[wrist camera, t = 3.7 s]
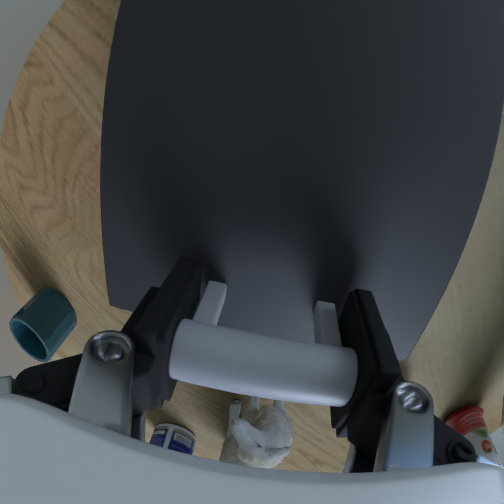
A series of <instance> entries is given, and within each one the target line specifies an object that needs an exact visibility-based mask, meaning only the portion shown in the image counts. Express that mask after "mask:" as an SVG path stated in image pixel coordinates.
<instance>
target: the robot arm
mask: <svg viewBox="0 0 504 504" xmlns="http://www.w3.org/2000/svg"><path fill="white" fill-rule="evenodd" d="M201 279H202V263H198V259H197V258H193V257H188V256H183V255H181V256H180V258H179V259H178V261H177V262H176V264H175V265H174V267H173V268H172V270H171V271H170V273H169V274H168V276H167V277H166V279H165V280H164V282H163V283H162V285H161V286H160V287H155V286H152V287H151V288H150V289H149V290H148V291H147V293H146V294H145V296H144V297H143V299H142V300H141V302H140V303H139V305H138V306H137V307H136V309H135V310H134V312H133V313H132V315H131V316H130V318H129V319H128V321H127V322H126V324H125V325H124V327H123V328H122V330H121V331H115V330H106V331H102V332H98V333H97V334H95V335H93V336H92V337H91V338H90V339H89V340H88V341H87V343H86V345H85V348H84V351H83V353H82V354H79V355H75V356H71V357H67V358H64V359H60V360H56V361H52V362H49V363H44V364H40V365H37V366H33V367H29V368H27V369H24V370H23V371H22V372H21V373H20V374H19V375H18V376H17V377H16V379H13V378H12V376H4V377H0V504H504V467H503V466H502V465H500V464H498V463H496V462H494V461H493V460H491V459H489V458H487V457H486V456H484V455H482V454H480V453H478V454H477V455H476V452H475V449H474V447H473V445H472V443H471V442H470V441H469V440H468V439H466V438H465V437H464V436H462V435H461V434H460V433H458V432H457V431H455V430H454V429H453V428H451V427H450V426H449V425H447V424H446V423H445V422H443V421H442V420H440V419H439V418H438V417H436V416H435V415H434V404H433V399H432V397H431V395H430V393H429V392H428V391H427V389H426V388H424V387H423V386H422V385H420V384H418V383H416V382H412V381H404V379H403V376H402V373H401V369H400V366H399V363H398V360H397V357H396V354H395V351H394V348H393V345H392V342H391V339H390V336H389V333H388V331H387V330H386V329H385V326H384V323H383V321H382V318H381V315H380V312H379V310H378V307H377V304H376V301H375V299H374V296H373V294H372V292H371V291H369V290H363V289H358V288H356V289H355V290H354V292H352V291H350V292H349V294H348V296H347V299H346V301H345V304H344V306H343V309H342V311H341V314H340V316H339V319H338V325H339V331H340V337H341V342H342V347H348V348H352V349H353V350H355V352H356V354H357V358H358V377H357V383H356V387H355V390H354V393H353V395H352V397H351V399H350V401H349V402H348V403H347V404H346V405H345V406H342V407H337V406H330V410H331V425H332V428H336V435H337V437H347V438H348V441H350V442H351V445H350V448H349V452H348V456H347V460H346V463H345V467H344V470H343V473H318V472H299V471H286V470H276V469H267V468H259V467H251V466H245V465H238V464H233V463H227V462H222V461H217V460H212V459H207V458H202V457H198V456H193V455H189V454H185V453H181V452H177V451H174V450H170V449H166V448H163V447H160V446H156V445H153V444H150V443H147V442H145V419H146V411H148V410H151V409H153V408H154V406H156V407H159V408H161V407H162V405H163V402H164V400H167V401H170V399H171V397H172V394H173V391H174V389H175V386H176V383H177V381H178V380H176V379H173V378H171V377H170V376H169V371H168V362H169V353H170V348H171V344H172V340H173V336H174V333H175V331H176V328H177V326H178V324H179V323H180V321H181V320H182V319H185V318H186V319H190V320H192V318H193V316H194V313H195V311H196V309H197V306H198V304H199V302H200V291H201Z"/></svg>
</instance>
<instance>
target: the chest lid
mask: <svg viewBox="0 0 504 504" xmlns="http://www.w3.org/2000/svg"><path fill="white" fill-rule="evenodd" d="M503 103H504V0H121V4H120V8H119V12H118V17H117V21H116V26H115V31H114V36H113V41H112V47H111V53H110V59H109V65H108V72H107V80H106V88H105V97H104V108H103V120H102V136H101V166H100V192H101V223H102V239H103V252H104V263H105V273H106V282H107V290H108V297H109V304H110V305H111V306H114V307H117V308H121V309H124V310H128V311H131V312H134V310H135V309H136V307H137V306H138V305H139V303H140V302H141V300H142V299H143V297H144V296H145V294H146V293H147V291H148V290H149V289H150V288H151V287H152V286H155V287H160V286H161V285H162V283H163V282H164V280H165V279H166V277H167V276H168V274H169V273H170V271H171V270H172V268H173V267H174V265H175V264H176V262H177V261H178V259H179V258H180V256H181V255H183V256H188V257H193V258H197V259H198V263H202V279H201V291H200V302H199V304H198V306H197V309H196V311H195V313H194V316H193V318H192V320H190V319H186V318H185V319H182V320H181V321H180V323H179V324H178V326H177V328H176V331H175V333H174V336H173V340H172V344H171V348H170V353H169V362H168V371H169V376H170V377H171V378H173V379H176V380H180V381H184V382H188V383H192V384H196V385H200V386H205V387H209V388H214V389H218V390H223V391H228V392H233V393H238V394H244V395H249V396H255V397H261V398H267V399H274V400H281V401H288V402H296V403H305V404H314V405H324V406H337V407H342V406H345V405H346V404H347V403H348V402H349V401H350V399H351V397H352V395H353V393H354V390H355V387H356V383H357V377H358V358H357V354H356V352H355V350H353V349H352V348H348V347H342V342H341V337H340V331H339V325H338V319H339V316H340V314H341V311H342V309H343V306H344V304H345V301H346V299H347V296H348V294H349V292H350V291H352V292H354V290H355V289H356V288H358V289H363V290H369V291H371V292H372V294H373V296H374V299H375V301H376V304H377V307H378V310H379V312H380V315H381V318H382V321H383V323H384V326H385V329H386V330H387V331H388V333H389V336H390V339H391V342H392V345H393V348H394V351H395V354H396V357H397V359H403V360H406V359H407V358H408V356H409V355H410V353H411V351H412V350H413V348H414V346H415V345H416V343H417V341H418V340H419V338H420V336H421V335H422V333H423V331H424V329H425V328H426V326H427V324H428V322H429V320H430V319H431V317H432V315H433V313H434V311H435V309H436V307H437V306H438V304H439V302H440V300H441V298H442V296H443V294H444V292H445V290H446V288H447V285H448V283H449V281H450V279H451V277H452V275H453V273H454V270H455V268H456V266H457V264H458V261H459V259H460V257H461V254H462V252H463V249H464V247H465V244H466V242H467V239H468V237H469V234H470V232H471V229H472V226H473V223H474V221H475V218H476V215H477V212H478V209H479V206H480V203H481V200H482V197H483V193H484V190H485V187H486V183H487V180H488V176H489V172H490V169H491V165H492V161H493V157H494V152H495V148H496V143H497V138H498V133H499V128H500V123H501V117H502V110H503Z"/></svg>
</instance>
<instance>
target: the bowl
mask: <svg viewBox="0 0 504 504" xmlns="http://www.w3.org/2000/svg"><path fill="white" fill-rule="evenodd" d="M501 428H502V430H503V433H504V396H503V409H502V421H501Z"/></svg>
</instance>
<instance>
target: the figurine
mask: <svg viewBox="0 0 504 504" xmlns="http://www.w3.org/2000/svg"><path fill="white" fill-rule="evenodd" d="M249 399H250V400H249V405H248V407H247V411H246V412H245V413H244V414H243V415H242V417H241V419H240V418H239V415H240V409H241V405H242V403H241V401H239V400H233V401H232V402H231V403H230V407H229V413H228V414H229V425H228V430H227V434H226V440H225V441H224V443H223V448H222V451H221V455H220V459H219V461H222V462H227V463H233V464H238V465H245V466H251V467H259V468H267V469H272V468H273V467H275V466H276V465H277V464H279V463H280V462H281V461H282V460H283V458H284V456H286V455H287V454H288V453H289V452H290V445H291V444H292V441H293V435H294V427H293V424H292V422H291V419H290V417H289V416H288V415H287V414H286V413H285V410H284V401H281V400H275V401H274V405H273V406H270V405H265V406H263V407H261V408H260V409H259V401H260V397H255V396H249Z"/></svg>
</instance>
